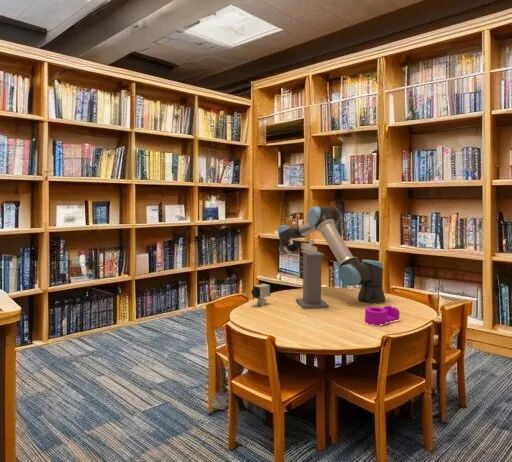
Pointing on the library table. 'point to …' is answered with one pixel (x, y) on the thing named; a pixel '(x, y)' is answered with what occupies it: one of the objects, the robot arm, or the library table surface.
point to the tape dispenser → (381, 315)
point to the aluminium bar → (309, 248)
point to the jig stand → (312, 281)
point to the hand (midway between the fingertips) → (302, 241)
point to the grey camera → (261, 293)
